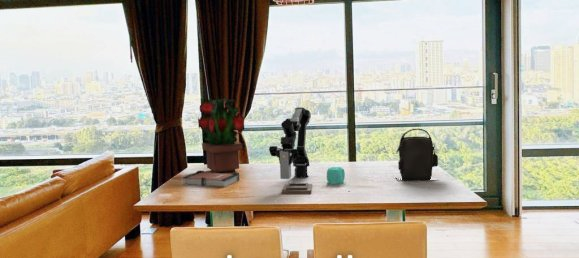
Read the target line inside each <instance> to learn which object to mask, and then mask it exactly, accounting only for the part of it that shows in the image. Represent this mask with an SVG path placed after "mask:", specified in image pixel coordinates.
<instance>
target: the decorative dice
mask: <svg viewBox="0 0 579 258" xmlns="http://www.w3.org/2000/svg"><path fill="white" fill-rule="evenodd" d="M345 175H346V173H345V169H344V168H343V167H341V166H331V167H328V168H327V170H326V180H327V182H328V184H331V185H342V184H343V183H344V181H345V178H346V177H345Z"/></svg>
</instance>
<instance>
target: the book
mask: <svg viewBox="0 0 579 258" xmlns="http://www.w3.org/2000/svg"><path fill="white" fill-rule="evenodd" d="M182 178H183V181H184V183H183V185H184V184H188V186H199V185H200V186H201V187H214V188H215V187H217V188H227V187H228V186H231V185H233V184H235V183H238V182H239V181H240V172H236V171H235V172H230V173H215V172H207V171H206V172H205V171H204V170H198V171H196V172H194V173H191V174H188V175H186V176H183V177H182ZM200 186H199V187H200Z"/></svg>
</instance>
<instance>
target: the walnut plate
mask: <svg viewBox="0 0 579 258" xmlns="http://www.w3.org/2000/svg"><path fill="white" fill-rule="evenodd" d="M283 185H284V186H283V187H282V189H281V190H282V191H281V194H282V195H307V194H309V195H310V194H312V192H313V191H312V190H313V183H308V182H299V183H298V182H297V183H296V182H293V183H290V182H289V183H286V184H283Z"/></svg>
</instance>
